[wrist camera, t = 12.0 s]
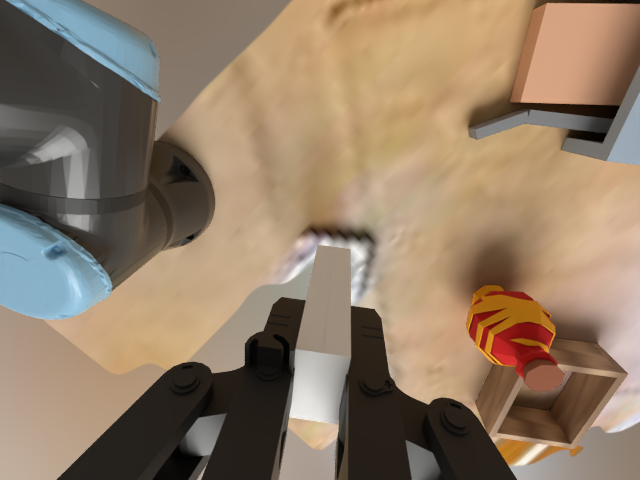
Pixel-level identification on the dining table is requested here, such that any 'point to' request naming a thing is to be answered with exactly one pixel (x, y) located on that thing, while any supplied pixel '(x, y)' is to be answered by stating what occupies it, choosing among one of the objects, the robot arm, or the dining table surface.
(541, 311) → the potion bottle
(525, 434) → the walnut display tray
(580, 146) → the grey docking fixture
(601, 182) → the dining table surface
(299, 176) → the dining table surface
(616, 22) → the terracotta tile
